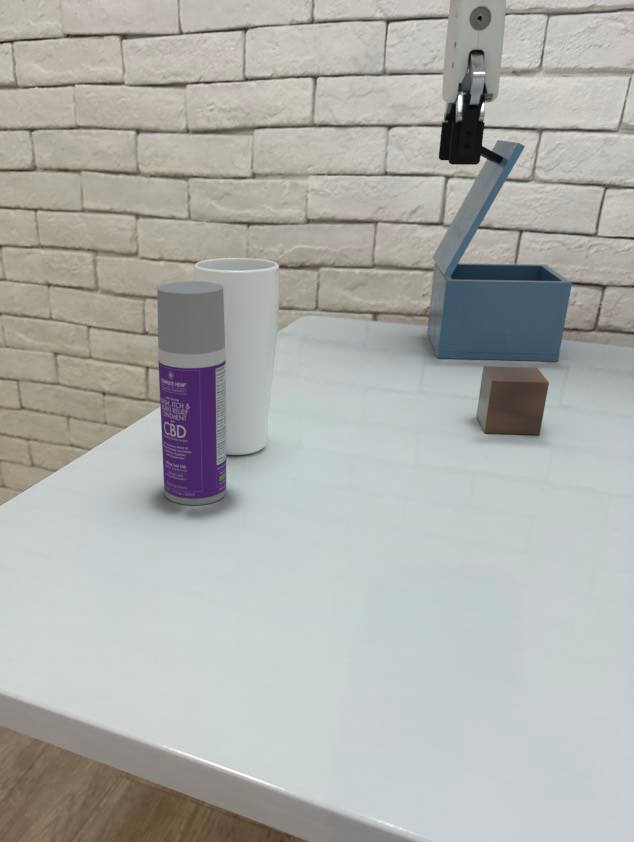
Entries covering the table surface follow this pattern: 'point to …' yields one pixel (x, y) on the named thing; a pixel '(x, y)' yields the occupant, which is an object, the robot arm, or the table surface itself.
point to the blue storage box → (498, 312)
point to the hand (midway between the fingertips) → (457, 162)
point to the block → (512, 400)
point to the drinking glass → (246, 344)
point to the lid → (476, 203)
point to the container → (192, 390)
